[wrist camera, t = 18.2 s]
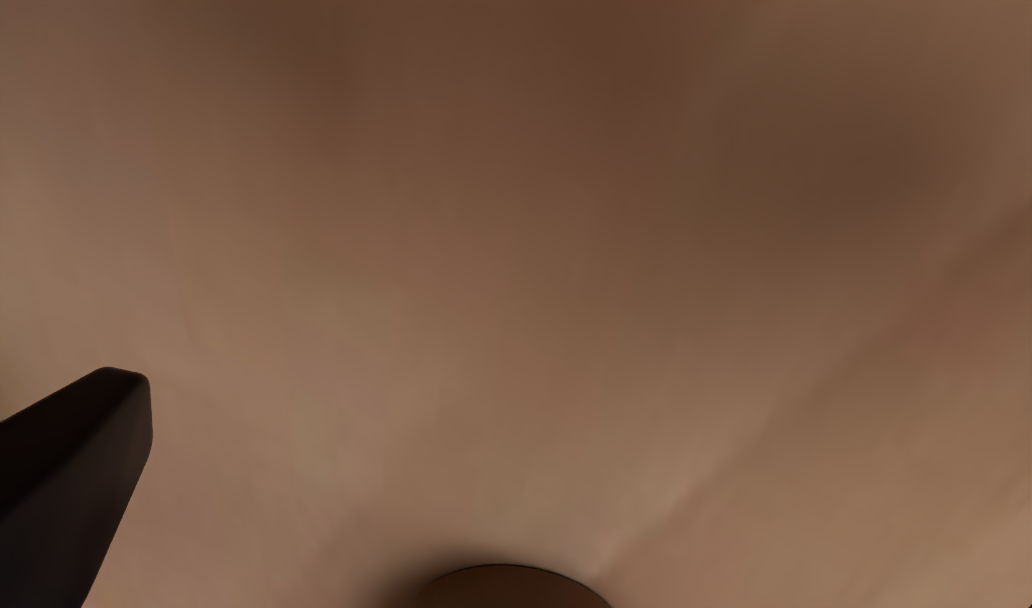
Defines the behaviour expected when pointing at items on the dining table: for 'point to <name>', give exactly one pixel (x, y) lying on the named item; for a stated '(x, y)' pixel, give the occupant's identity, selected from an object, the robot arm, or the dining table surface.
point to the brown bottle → (506, 590)
